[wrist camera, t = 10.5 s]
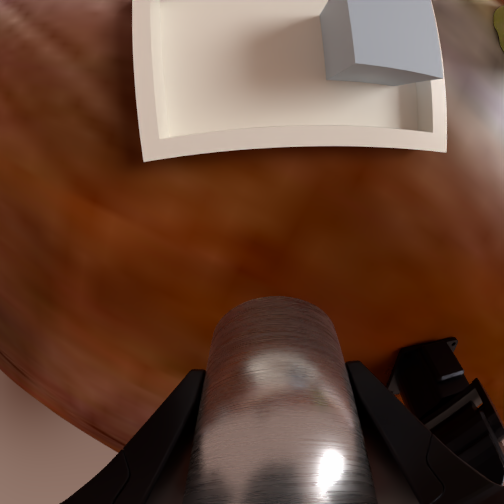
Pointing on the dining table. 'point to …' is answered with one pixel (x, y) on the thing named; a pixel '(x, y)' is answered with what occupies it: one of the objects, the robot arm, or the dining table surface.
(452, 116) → the dining table surface
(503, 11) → the plant pot
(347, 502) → the metal cylinder
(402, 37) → the painted block
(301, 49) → the parts tray
